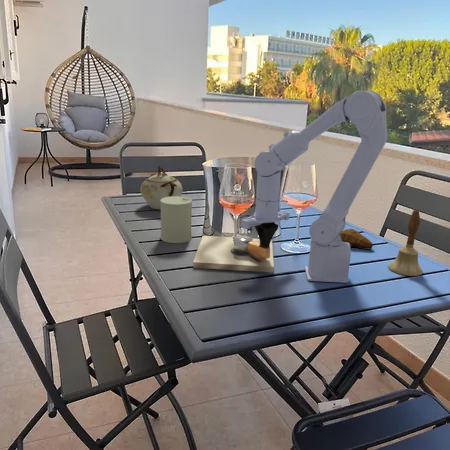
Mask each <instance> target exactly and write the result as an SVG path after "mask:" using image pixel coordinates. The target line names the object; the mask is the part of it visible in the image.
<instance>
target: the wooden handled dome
mask: <svg viewBox="0 0 450 450" xmlns="http://www.w3.org/2000/svg"><path fill="white" fill-rule="evenodd" d="M252 238H253V237H251V236H247V235H238V236H235V238H234V247H233V251H234V252H236V253H240V254H248V253H249V254H252V255H255V256H257V257H260V258H263V259H268V258H270V247H268V246H265V245H262V244H259V243H256V242H254V241H253V239H252Z"/></svg>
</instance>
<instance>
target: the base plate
mask: <svg viewBox="0 0 450 450" xmlns="http://www.w3.org/2000/svg"><path fill="white" fill-rule="evenodd" d="M233 237H234V236H232V237H231V236H214V235H202V237H201V240H200V243H199V245H198V248H197V250H196V253H195V256H194V259H193V262H192V266H193V267H192V268H193V269H195V268H196V269H210V270H211V269H212V270H226V271H227V270H229V271H242V272H244V271H245V272H256V273H257V272H259V273H275V270H274V269H275V265H274V264H275V263H274V251H273V249H274V248H273V238H272V239H271V242H270V258H268V259H263V258H260V257H257V256H255V255H252V254H249V253H248V254H240V253H236V252H234V251H233V247H234V241H233ZM251 238H252V239H253V241H254V242H256V243H259V244H260V239H259V238H253V237H251Z"/></svg>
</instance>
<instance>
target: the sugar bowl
mask: <svg viewBox="0 0 450 450" xmlns="http://www.w3.org/2000/svg"><path fill="white" fill-rule="evenodd" d="M157 170H158V173H157V174H155V173H151V174H150V176H149V177H147V178H146V179H145V180H144V181H143V182H142V183H141V185H140V193H141V196H142V198H143V200H144V201H145V202H146V203H147V205H148V206H149V207H150V208H151V209H153V210H160V211H161V204H160V200H161V199H162V198H164V197H170V196H181V197H182V195H183V186H182V183H181V182H180V181H179V180H178V179H177V178H176V177H173V176H171V175H169V174H167V172H165V170H164V168H163V166H162V165H158V167H157Z"/></svg>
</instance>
